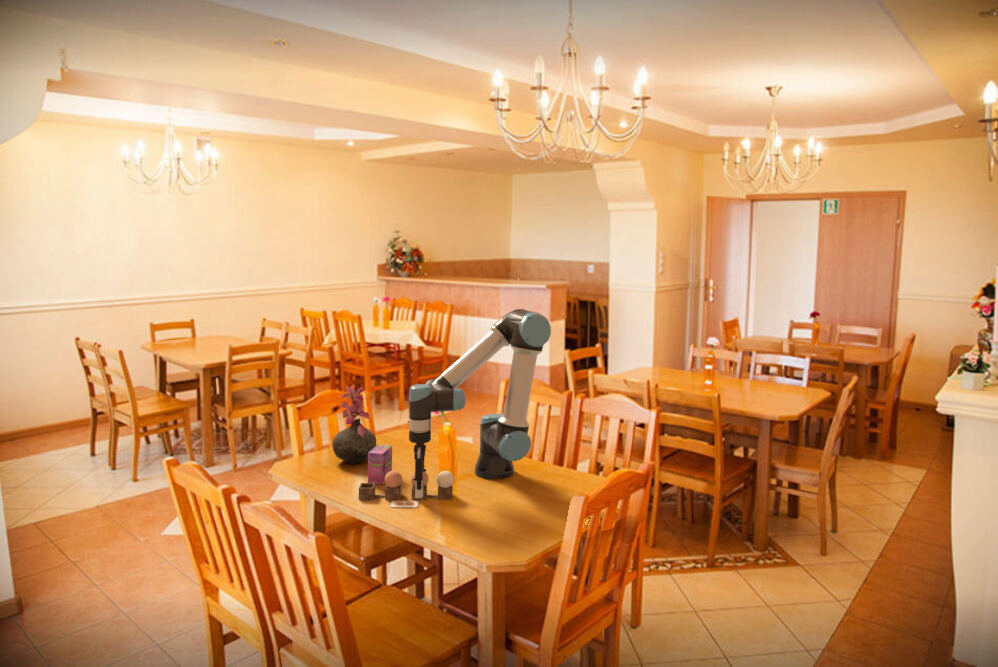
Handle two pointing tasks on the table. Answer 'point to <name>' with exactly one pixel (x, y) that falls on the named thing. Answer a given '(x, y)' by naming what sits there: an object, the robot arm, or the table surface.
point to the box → (379, 463)
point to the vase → (354, 432)
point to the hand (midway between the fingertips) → (419, 493)
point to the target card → (404, 504)
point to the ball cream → (445, 479)
